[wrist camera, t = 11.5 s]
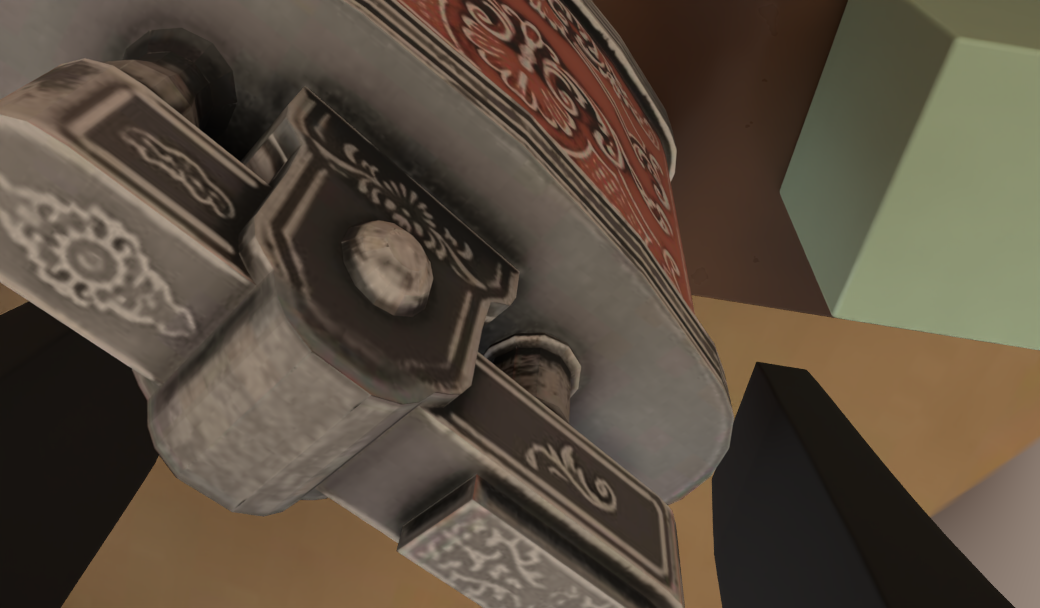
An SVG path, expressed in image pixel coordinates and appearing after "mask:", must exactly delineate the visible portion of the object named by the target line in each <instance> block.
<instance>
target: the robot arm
mask: <svg viewBox="0 0 1040 608" xmlns="http://www.w3.org/2000/svg"><path fill="white" fill-rule="evenodd" d="M158 456H159V454H158V453H157V451H156V450H155V449H154V446H153V443H152V440H151V437H150V433H149V430H148V427H147V400H146V398H145V396H144V395H143V393H142V391H141V390H140V388H139V386H138V384H137V381H136V379H135V377H134V374H133V372H132V368H130V367H129V366H127V365H126V364H124V363H123V362H121V361H120V360H118V359H117V358H115V357H114V356H112V355H111V354H109V353H108V352H106V351H104V350H103V349H101V348H100V347H98V346H97V345H95V344H94V343H92V342H91V341H89V340H88V339H86V338H85V337H83V336H82V335H80V334H79V333H77V332H75V331H74V330H72V329H71V328H69V327H68V326H66V325H65V324H63V323H62V322H60V321H59V320H57V319H56V318H54V317H53V316H51V315H50V314H48V313H46V312H45V311H43V310H42V309H40V308H39V307H37V306H36V305H34V304H33V303H31V302H30V301H29V302H27V303H25V304H23V305H21V306H19V307H17V308H15V309H12V310H10V311H8V312H6V313H4V314H2V315H0V608H61V606H62V605H63V603H64V602H65V600H66V599H67V597H68V596H69V594H70V593H71V591H72V590H73V588H74V587H75V585H76V584H77V582H78V580H79V579H80V577H81V576H82V574H83V573H84V571H85V570H86V568H87V567H88V565H89V564H90V562H91V561H92V559H93V558H94V556H95V555H96V553H97V552H98V550H99V549H100V547H101V546H102V544H103V543H104V541H105V540H106V538H107V537H108V535H109V534H110V532H111V531H112V529H113V528H114V526H115V525H116V523H117V522H118V520H119V518H120V517H121V515H122V514H123V512H124V511H125V509H126V508H127V506H128V505H129V503H130V502H131V500H132V498H133V497H134V495H135V494H136V492H137V491H138V489H139V488H140V486H141V485H142V483H143V481H144V480H145V478H146V477H147V475H148V474H149V472H150V470H151V469H152V467H153V466H154V464H155V462H156V460H157V458H158ZM712 509H713V537H714V556H715V563H716V569H717V576H718V582H719V589H720V595H721V601H722V608H1015V607H1014V606H1013V605H1012V604H1011V603H1010V602H1009V601H1008V600H1007V599H1006V598H1005V597H1004V596H1003V595H1002V594H1001V593H1000V592H999V591H998V590H997V589H996V588H995V587H994V586H993V585H992V584H991V583H990V582H989V581H988V580H987V579H986V578H985V577H984V576H983V574H982V573H981V572H980V571H979V570H978V569H977V568H976V567H975V566H974V565H973V564H972V563H971V562H970V561H969V560H968V558H967V557H966V556H965V555H964V554H963V553H962V552H961V551H960V550H959V549H958V548H957V547H956V546H955V545H954V544H953V543H952V541H951V540H950V539H949V538H948V537H947V536H946V535H945V534H944V533H943V532H942V531H941V529H940V528H939V527H938V526H937V525H936V524H935V523H934V521H933V520H932V519H931V518H930V517H929V516H928V515H927V514H926V513H925V511H924V510H923V509H922V508H921V507H920V506H919V504H918V503H917V502H916V501H915V500H914V499H913V498H912V496H911V495H910V494H909V493H908V492H907V491H906V489H905V488H904V487H903V486H902V485H901V483H900V482H899V481H898V480H897V479H896V478H895V476H894V475H893V474H892V473H891V472H890V470H889V469H888V468H887V467H886V466H885V464H884V463H883V462H882V461H881V460H880V458H879V457H878V456H877V455H876V454H875V452H874V451H873V450H872V449H871V447H870V446H869V445H868V444H867V442H866V441H865V440H864V439H863V438H862V436H861V435H860V434H859V433H858V431H857V430H856V429H855V428H854V426H853V425H852V424H851V423H850V421H849V420H848V419H847V418H846V417H845V415H844V414H843V413H842V412H841V410H840V409H839V408H838V407H837V405H836V404H835V403H834V402H833V400H832V399H831V398H830V397H829V395H828V394H827V393H826V392H825V391H824V389H823V388H822V387H821V386H820V385H819V383H818V382H817V381H816V380H815V379H814V378H813V376H812V375H811V374H810V373H809V372H808V371H807V370H805V369H799V368H792V367H786V366H780V365H774V364H767V363H761V362H756V365H755V367H754V370H753V372H752V375H751V378H750V380H749V383H748V386H747V388H746V391H745V393H744V396H743V399H742V401H741V404H740V407H739V409H738V412H737V414H736V417H735V420H734V422H733V427H732V433H731V439H730V446H729V449H728V451H727V452H726V454H725V455H724V457H723V458H722V460H721V461H720V463H719V464H718V466H717V467H716V470H715V472H714V475H713V478H712Z"/></svg>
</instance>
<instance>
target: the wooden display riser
mask: <svg viewBox="0 0 1040 608" xmlns="http://www.w3.org/2000/svg"><path fill="white" fill-rule="evenodd" d="M592 2H593V3H594V4H595V5H596V7H597V8H598V9H599V10H600V12H601V13H602V14H603V15H604V17H605V18H606V19H607V20H608V22H609V23H610V24H611V25H612V27H613V28H614V29H615V30H616V32H617V33H618V34H619V35H620V37H621V38H622V40H623V42H624V43H625V45H626V47H627V48H628V50H629V51H630V53H631V55H632V56H633V58H634V60H635V61H636V63H637V64H638V66H639V68H640V69H641V71H642V73H643V74H644V76H645V77H646V79H647V81H648V82H649V84H650V86H651V87H652V89H653V91H654V92H655V94H656V95H657V97H658V99H659V100H660V102H661V104H662V105H663V107H664V108H665V110H666V112H667V115H668V118H669V121H670V124H671V127H672V130H673V135H674V140H675V144H676V149H677V153H676V165H675V174H674V176H673V178H672V180H671V188H672V193H673V199H674V204H675V209H676V215H677V220H678V226H679V231H680V237H681V242H682V248H683V253H684V259H685V264H686V269H687V275H688V280H689V286H690V291H691V295H695V296H701V297H708V298H714V299H720V300H727V301H733V302H739V303H745V304H752V305H758V306H764V307H770V308H777V309H783V310H789V311H796V312H802V313H808V314H814V315H821V316H827V317H833V318H836V317H834V316H832V315H831V312H830V310H829V308H828V305H827V303H826V301H825V298H824V296H823V294H822V291H821V289H820V287H819V284H818V282H817V280H816V277H815V275H814V273H813V270H812V268H811V265H810V263H809V261H808V258H807V256H806V254H805V251H804V249H803V247H802V244H801V242H800V240H799V237H798V235H797V233H796V230H795V228H794V226H793V223H792V221H791V219H790V216H789V214H788V212H787V209H786V207H785V204H784V202H783V200H782V197H781V195H780V189H781V186H782V183H783V180H784V177H785V175H786V172H787V169H788V166H789V164H790V161H791V158H792V155H793V152H794V150H795V147H796V144H797V141H798V139H799V136H800V133H801V130H802V127H803V125H804V122H805V119H806V116H807V114H808V111H809V108H810V105H811V102H812V100H813V97H814V94H815V91H816V89H817V86H818V83H819V80H820V77H821V75H822V72H823V69H824V66H825V64H826V61H827V58H828V55H829V52H830V50H831V47H832V44H833V41H834V39H835V36H836V33H837V30H838V27H839V25H840V22H841V19H842V16H843V13H844V11H845V8H846V5H847V2H848V0H592ZM839 319H840V318H839ZM846 320H847V319H846ZM852 321H853V320H852ZM858 322H859V321H858ZM864 323H865V322H864ZM871 324H872V323H871ZM877 325H878V324H877ZM883 326H884V325H883ZM896 328H897V327H896ZM902 329H903V328H902ZM908 330H909V329H908ZM915 331H916V330H915ZM921 332H922V331H921ZM927 333H928V332H927ZM933 334H934V333H933ZM940 335H941V334H940ZM946 336H947V335H946ZM952 337H953V336H952ZM965 339H966V338H965ZM971 340H972V339H971ZM977 341H978V340H977ZM984 342H985V341H984ZM990 343H991V342H990ZM996 344H997V343H996Z"/></svg>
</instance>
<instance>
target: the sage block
mask: <svg viewBox="0 0 1040 608" xmlns="http://www.w3.org/2000/svg"><path fill="white" fill-rule="evenodd" d="M780 195H781V197H782V200H783V202H784V204H785V207H786V209H787V212H788V214H789V216H790V219H791V221H792V223H793V226H794V228H795V230H796V233H797V235H798V237H799V240H800V242H801V244H802V247H803V249H804V251H805V254H806V256H807V258H808V261H809V263H810V265H811V268H812V270H813V273H814V275H815V277H816V280H817V282H818V284H819V287H820V289H821V291H822V294H823V296H824V298H825V301H826V303H827V305H828V308H829V310H830V312H831V315H832V316H834V317H836V318H840V319H847V320H853V321H859V322H865V323H872V324H878V325H884V326H890V327H897V328H903V329H909V330H916V331H922V332H928V333H934V334H941V335H947V336H953V337H959V338H966V339H972V340H978V341H985V342H991V343H997V344H1003V345H1010V346H1016V347H1022V348H1028V349H1035V350H1040V0H848V2H847V5H846V8H845V11H844V13H843V16H842V19H841V22H840V25H839V27H838V30H837V33H836V36H835V39H834V41H833V44H832V47H831V50H830V52H829V55H828V58H827V61H826V64H825V66H824V69H823V72H822V75H821V77H820V80H819V83H818V86H817V89H816V91H815V94H814V97H813V100H812V102H811V105H810V108H809V111H808V114H807V116H806V119H805V122H804V125H803V127H802V130H801V133H800V136H799V139H798V141H797V144H796V147H795V150H794V152H793V155H792V158H791V161H790V164H789V166H788V169H787V172H786V175H785V177H784V180H783V183H782V186H781V189H780Z"/></svg>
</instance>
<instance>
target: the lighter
mask: <svg viewBox="0 0 1040 608" xmlns="http://www.w3.org/2000/svg"><path fill="white" fill-rule="evenodd" d="M676 153H677V149H676V144H675V140H674V135H673V130H672V127H671V124H670V121H669V118H668V115H667V112H666V110H665V108H664V107H663V105H662V104H661V102H660V100H659V99H658V97H657V95H656V94H655V92H654V91H653V89H652V87H651V86H650V84H649V82H648V81H647V79H646V77H645V76H644V74H643V73H642V71H641V69H640V68H639V66H638V64H637V63H636V61H635V60H634V58H633V56H632V55H631V53H630V51H629V50H628V48H627V47H626V45H625V43H624V42H623V40H622V38H621V37H620V35H619V34H618V33H617V32H616V30H615V29H614V28H613V27H612V25H611V24H610V23H609V22H608V20H607V19H606V18H605V17H604V15H603V14H602V13H601V12H600V10H599V9H598V8H597V7H596V5H595V4H594V3H593V2H592V0H0V282H1V283H2V284H4V285H5V286H7V287H8V288H10V289H11V290H13V291H14V292H16V293H18V294H19V295H21V296H22V297H24V298H25V299H27V300H28V301H30V302H31V303H33V304H34V305H36V306H37V307H39V308H40V309H42V310H43V311H45V312H46V313H48V314H50V315H51V316H53V317H54V318H56V319H57V320H59V321H60V322H62V323H63V324H65V325H66V326H68V327H69V328H71V329H72V330H74V331H75V332H77V333H79V334H80V335H82V336H83V337H85V338H86V339H88V340H89V341H91V342H92V343H94V344H95V345H97V346H98V347H100V348H101V349H103V350H104V351H106V352H108V353H109V354H111V355H112V356H114V357H115V358H117V359H118V360H120V361H121V362H123V363H124V364H126V365H127V366H129V367H130V368H132V372H133V374H134V377H135V379H136V381H137V384H138V386H139V388H140V390H141V391H142V393H143V395H144V396H145V398H146V400H147V427H148V430H149V433H150V437H151V440H152V443H153V446H154V449H155V450H156V451H157V453H158V454H159V455H160V457H161V458H162V459H163V461H164V462H165V463H166V465H167V466H168V467H169V469H170V470H171V471H172V473H173V474H174V476H175V477H176V478H178V479H179V480H181V481H183V482H184V483H186V484H187V485H189V486H191V487H192V488H194V489H196V490H197V491H199V492H200V493H202V494H204V495H205V496H207V497H209V498H210V499H212V500H213V501H215V502H217V503H218V504H220V505H222V506H223V507H225V508H226V509H228V510H230V511H231V512H236V513H243V514H250V515H257V516H267V515H271V514H275V513H279V512H283V511H284V510H286V509H287V508H289V507H290V506H292V505H293V504H295V503H296V502H298V501H299V500H318V499H325V498H328V497H329V498H330V499H332V500H333V501H335V502H336V503H338V504H339V505H341V506H342V507H344V508H345V509H347V510H349V511H350V512H352V513H353V514H355V515H356V516H358V517H359V518H361V519H362V520H364V521H365V522H367V523H368V524H370V525H371V526H373V527H374V528H376V529H377V530H379V531H381V532H382V533H384V534H385V535H387V536H388V537H390V538H391V539H393V540H394V541H396V542H397V543H398V547H397V552H399V553H400V554H402V555H403V556H405V557H406V558H408V559H409V560H411V561H413V562H414V563H416V564H417V565H419V566H420V567H422V568H423V569H425V570H426V571H428V572H429V573H431V574H433V575H434V576H436V577H437V578H439V579H440V580H442V581H443V582H445V583H446V584H448V585H449V586H451V587H452V588H454V589H456V590H457V591H459V592H460V593H462V594H463V595H465V596H466V597H468V598H469V599H471V600H472V601H474V602H476V603H477V604H479V605H480V606H482V607H483V608H685V604H684V595H683V586H682V576H681V567H680V558H679V549H678V540H677V530H676V523H675V519H674V515H673V511H672V510H671V509H670V508H669V507H668V505H670V504H672V503H675V502H677V501H679V500H681V499H683V498H684V497H685V496H686V495H688V494H689V493H690V492H692V491H693V490H694V489H695V488H697V487H698V486H699V485H701V484H702V483H703V482H704V481H706V480H707V479H708V478H709V477H711V475H712V474H713V472H714V470H715V469H716V467H717V466H718V464H719V463H720V461H721V460H722V458H723V457H724V455H725V454H726V452H727V451H728V449H729V446H730V439H731V433H732V427H733V421H734V415H733V411H732V406H731V401H730V397H729V392H728V387H727V383H726V378H725V373H724V370H723V367H722V364H721V361H720V358H719V355H718V353H717V350H716V347H715V344H714V343H713V341H712V340H711V338H710V337H709V335H708V334H707V332H706V331H705V329H704V328H703V327H702V325H701V324H700V322H699V321H698V319H697V318H696V316H695V313H694V308H693V302H692V297H691V291H690V286H689V280H688V275H687V269H686V264H685V259H684V253H683V248H682V242H681V237H680V231H679V226H678V220H677V215H676V209H675V204H674V199H673V193H672V188H671V180H672V178H673V176H674V174H675V165H676Z"/></svg>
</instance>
